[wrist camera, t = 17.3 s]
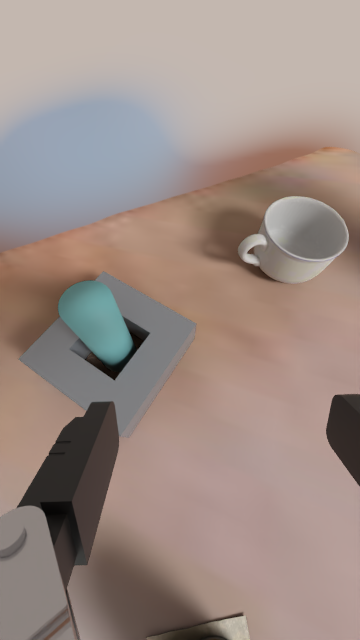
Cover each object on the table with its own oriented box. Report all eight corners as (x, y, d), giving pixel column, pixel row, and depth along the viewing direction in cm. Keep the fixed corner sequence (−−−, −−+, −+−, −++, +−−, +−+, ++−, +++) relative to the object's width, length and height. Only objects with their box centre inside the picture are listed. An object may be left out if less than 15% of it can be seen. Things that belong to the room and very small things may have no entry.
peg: (117, 333, 33) (84, 272, 21) (144, 349, 32) (124, 295, 20) (95, 359, 31) (46, 309, 20) (122, 378, 30) (87, 337, 19)
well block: (111, 290, 36) (103, 271, 32) (194, 338, 33) (196, 323, 29) (39, 370, 31) (18, 359, 27) (128, 437, 27) (120, 436, 23)
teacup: (305, 236, 41) (332, 192, 34) (329, 291, 36) (366, 253, 29) (222, 242, 40) (231, 199, 33) (235, 299, 36) (250, 262, 28)
